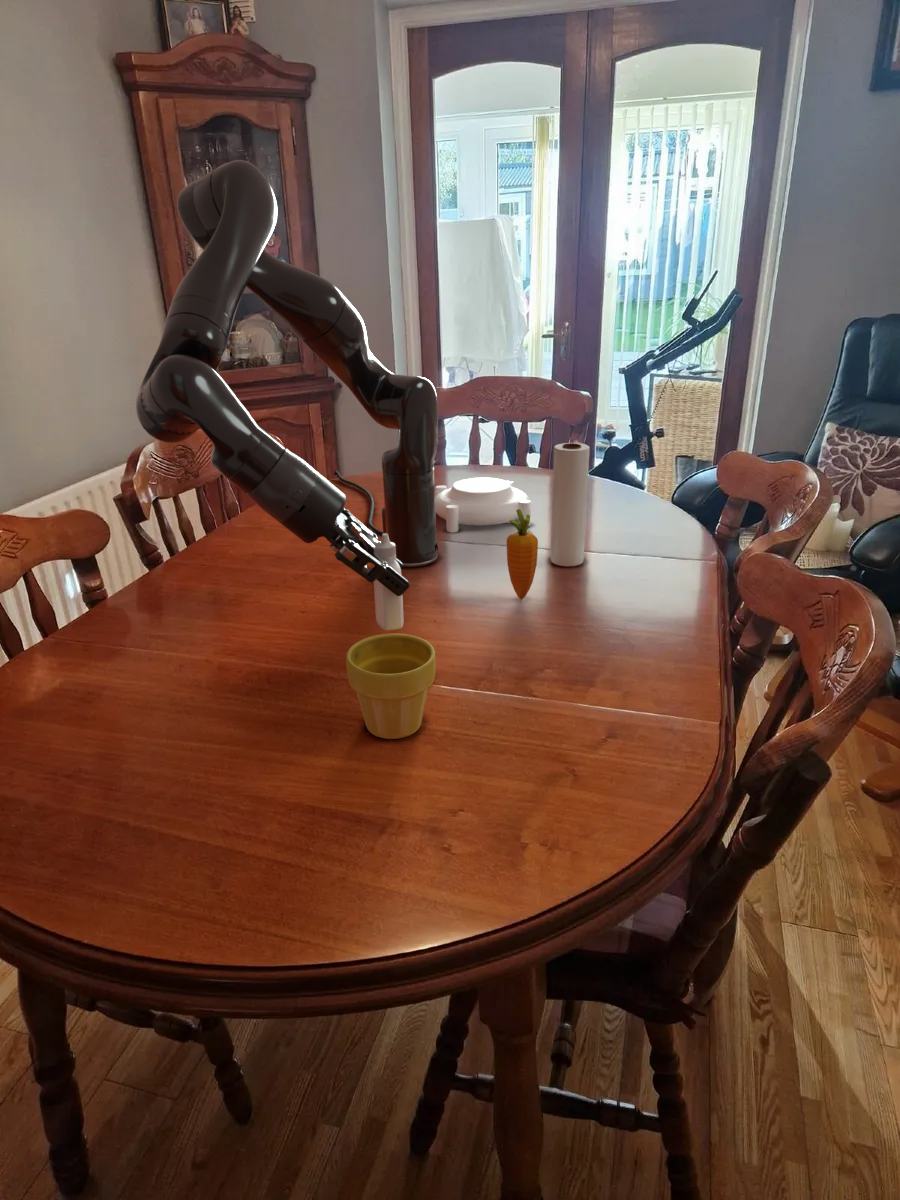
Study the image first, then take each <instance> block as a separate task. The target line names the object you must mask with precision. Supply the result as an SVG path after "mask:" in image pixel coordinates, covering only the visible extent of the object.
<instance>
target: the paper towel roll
mask: <svg viewBox="0 0 900 1200" xmlns="http://www.w3.org/2000/svg"><path fill="white" fill-rule="evenodd" d="M590 448H591V447H590V446H589V445H588V444H585V443H584V442H580V441H576V440H575V439H574V440H573V442H562V443H558V444H556V445H554V446H553V465H552V466H553V468H552V470H553V472H552V474H553V475H552V497H551V498H552V500H551V529H550V530H551V531H550V562H551V563H552V564H554V565H556V566H560V567H576V566H580V565H581V564H583V562H584V560H585V545H586V544H585V542H586V525H587V507H588V505H587V503H588V485H589V484H588V483H589V466H590Z"/></svg>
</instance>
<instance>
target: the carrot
mask: <svg viewBox="0 0 900 1200" xmlns="http://www.w3.org/2000/svg"><path fill="white" fill-rule="evenodd" d="M516 511H517V515H518V517H519V520H520V523H519V522H518V520H510V521H509V522H508V523H509V524H510V525H513V526H514V527H515V529H516V531H514V532H512V533H511V534H509V535H508V536H507V538H506V562H507V570H508V575H509V579H510V583H511V585H512V588H513V591H514V592H515V594H516V596H517V597H518V598H519V600H520V601H522V600H523V599H524V598H526V596H527V595H528V593H529V591H530V589H531V587H532V584H533V583H534V582H533V581H534V578H535V574H536V568H537V563H538V551H539V550H538V549H539V541H538V537H537V536H536V535H535V534H534V533H533V532H531V531H528V529H529V527H530V526H529V523H530V524H531V518H530V515H529V514H526V518H525V520H524V517H523V514H522V511H521V509H518V510H516Z"/></svg>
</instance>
